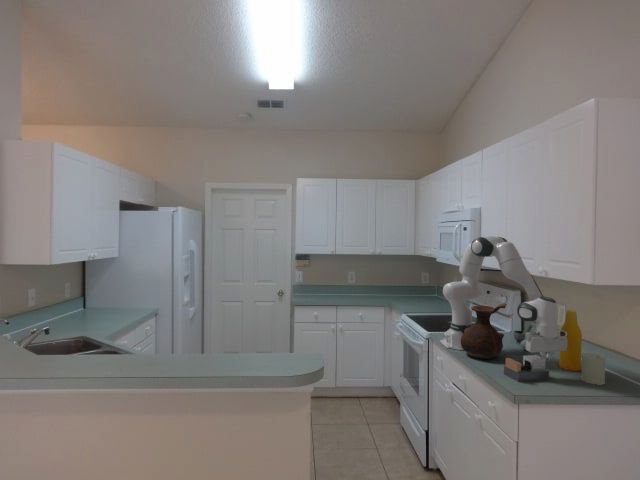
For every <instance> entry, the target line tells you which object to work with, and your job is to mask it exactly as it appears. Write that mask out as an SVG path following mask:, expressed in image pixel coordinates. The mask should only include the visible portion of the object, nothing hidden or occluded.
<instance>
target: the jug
mask: <svg viewBox="0 0 640 480" xmlns="http://www.w3.org/2000/svg"><path fill="white" fill-rule="evenodd" d="M506 307H507V303H501V304H498V305H497V306H495V307H492V306H489V305H473V306H472V307H470V309H471V310H472V312H473V311H474V312H475V315H476V318H475V319H476V320H475V323H472V324H473V325H471V326H470V327H469V328H468V329H467V330H466V331H465V332H464V333H463V335H462V337H461V346H462V348H463V349H464V350H463V351H464V352H465V353H466V354H467V355H469V356H470V357H473V358H476V359H480V360H481V359H482V360H484V359H485V360H489V359H492V358H494V357H496V356H497V357H498V356H499V355H500V354H501V352H502V351H503V348H504V343H503V338H504V337H505V334H504V333H501V332H499V331H498V330H497V329H496V328H495V327H494V326H493V325H492V324H491V316H492V315H493V314H495V313H497V312H498V311H499V310H500V309H506Z"/></svg>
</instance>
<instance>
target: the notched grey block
mask: <svg viewBox="0 0 640 480" xmlns="http://www.w3.org/2000/svg"><path fill="white" fill-rule="evenodd" d="M525 364H531V370H545V369H546V361H545V358H542V356H541V355H540V356H539V355H537V354H528V355H523V356H522V365H525Z"/></svg>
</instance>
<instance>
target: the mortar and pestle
mask: <svg viewBox="0 0 640 480" xmlns="http://www.w3.org/2000/svg"><path fill="white" fill-rule="evenodd" d="M532 328H533V325H532V324H529V323H528V324H527V326H526V328H525V329H524V330H514V331H512V334H513V337H514V339H515V341H516V342H515V343H516V344H517V345H520V343H521V341H523V340H525V333H526V332H531V330H532Z"/></svg>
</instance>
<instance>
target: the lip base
mask: <svg viewBox="0 0 640 480" xmlns="http://www.w3.org/2000/svg"><path fill="white" fill-rule="evenodd" d="M503 375H505V376H507V377H508V378H510V379H513V380H514V381H516V382H519V383H521V382H536V381H546V380H547V381H549V380H550V371H549V370H547V369H546V368H545V370H531V364H525V365H523V364H522V363H521V362H519V361H517V360H515V359H513V358H511V357H506V358H505V365H503Z"/></svg>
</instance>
